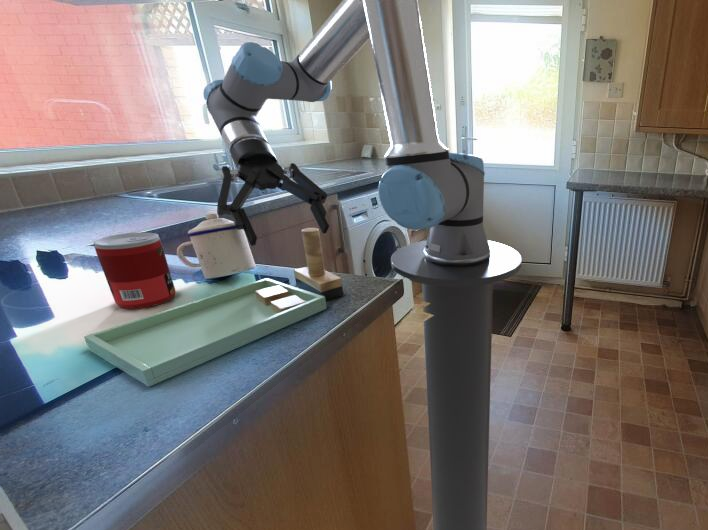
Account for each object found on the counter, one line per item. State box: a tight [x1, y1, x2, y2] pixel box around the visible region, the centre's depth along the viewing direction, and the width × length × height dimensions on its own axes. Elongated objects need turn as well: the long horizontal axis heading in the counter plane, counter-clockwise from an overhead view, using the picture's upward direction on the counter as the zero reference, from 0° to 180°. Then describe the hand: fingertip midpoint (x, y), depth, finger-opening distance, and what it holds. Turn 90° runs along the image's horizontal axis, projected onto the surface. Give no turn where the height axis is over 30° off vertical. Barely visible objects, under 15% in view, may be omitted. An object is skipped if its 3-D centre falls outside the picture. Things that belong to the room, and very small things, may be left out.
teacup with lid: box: [176, 212, 257, 280], centre depth 78 cm, size 12×9×12 cm
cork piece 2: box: [270, 295, 306, 314], centre depth 67 cm, size 4×4×2 cm
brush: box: [293, 227, 344, 302], centre depth 75 cm, size 4×10×12 cm, turn 51°
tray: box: [83, 277, 327, 388], centre depth 62 cm, size 26×16×2 cm, turn 152°
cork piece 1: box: [255, 285, 290, 306], centre depth 71 cm, size 4×4×2 cm
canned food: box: [93, 231, 176, 310], centre depth 68 cm, size 8×8×11 cm
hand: (292, 235), depth 81 cm, fingers open, 13 cm apart
